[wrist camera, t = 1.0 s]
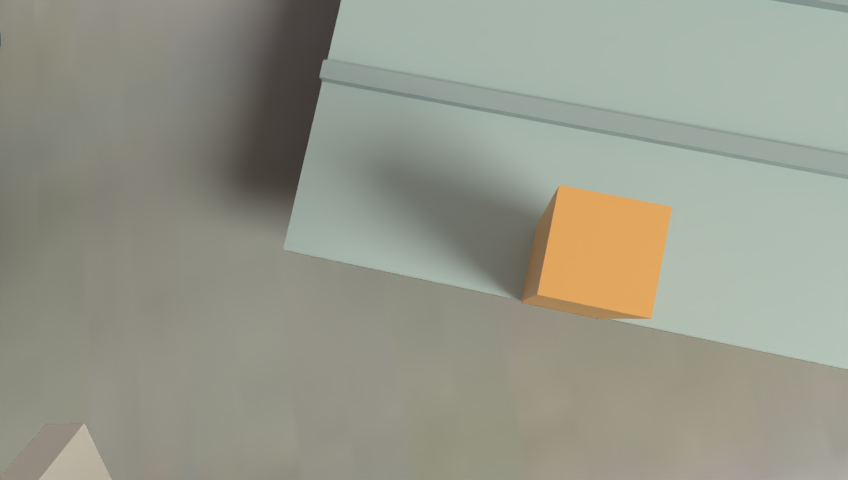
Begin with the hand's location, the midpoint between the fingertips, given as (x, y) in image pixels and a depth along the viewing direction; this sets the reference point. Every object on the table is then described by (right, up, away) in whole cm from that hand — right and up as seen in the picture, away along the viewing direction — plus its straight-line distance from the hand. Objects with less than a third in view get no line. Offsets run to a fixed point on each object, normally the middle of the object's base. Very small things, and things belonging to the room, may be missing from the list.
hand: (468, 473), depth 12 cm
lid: (+7, +12, +20) cm, 24 cm away
